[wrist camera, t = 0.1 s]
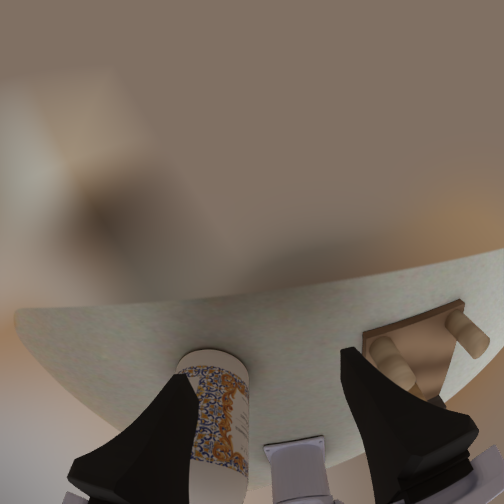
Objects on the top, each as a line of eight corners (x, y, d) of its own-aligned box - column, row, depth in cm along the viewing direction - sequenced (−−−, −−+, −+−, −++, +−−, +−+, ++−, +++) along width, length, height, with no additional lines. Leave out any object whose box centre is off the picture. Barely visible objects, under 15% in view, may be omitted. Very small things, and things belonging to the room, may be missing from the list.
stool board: (434, 394, 27) (452, 425, 21) (356, 423, 28) (369, 461, 21) (459, 298, 22) (495, 330, 16) (362, 332, 22) (388, 379, 16)
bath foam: (256, 390, 25) (260, 580, 6) (193, 398, 25) (162, 569, 6) (237, 340, 23) (223, 585, 4) (166, 351, 23) (99, 554, 4)
